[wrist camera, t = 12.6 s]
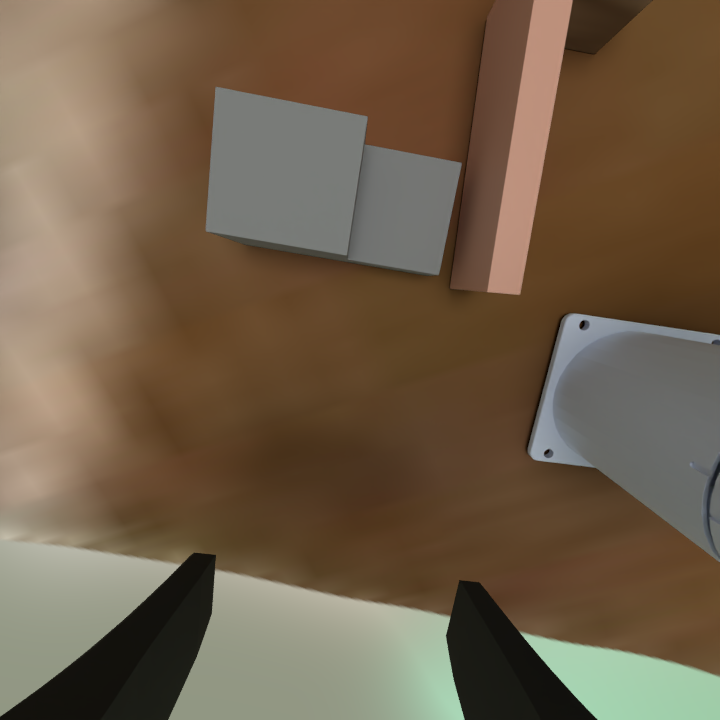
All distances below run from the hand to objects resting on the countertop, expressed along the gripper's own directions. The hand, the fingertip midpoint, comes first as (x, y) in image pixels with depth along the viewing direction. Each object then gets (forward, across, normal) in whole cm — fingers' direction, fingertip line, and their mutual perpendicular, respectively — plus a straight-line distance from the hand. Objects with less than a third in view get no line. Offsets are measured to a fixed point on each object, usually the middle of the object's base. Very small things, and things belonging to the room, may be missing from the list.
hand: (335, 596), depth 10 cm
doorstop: (+10, +2, -12) cm, 16 cm away
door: (+9, -4, -15) cm, 18 cm away
